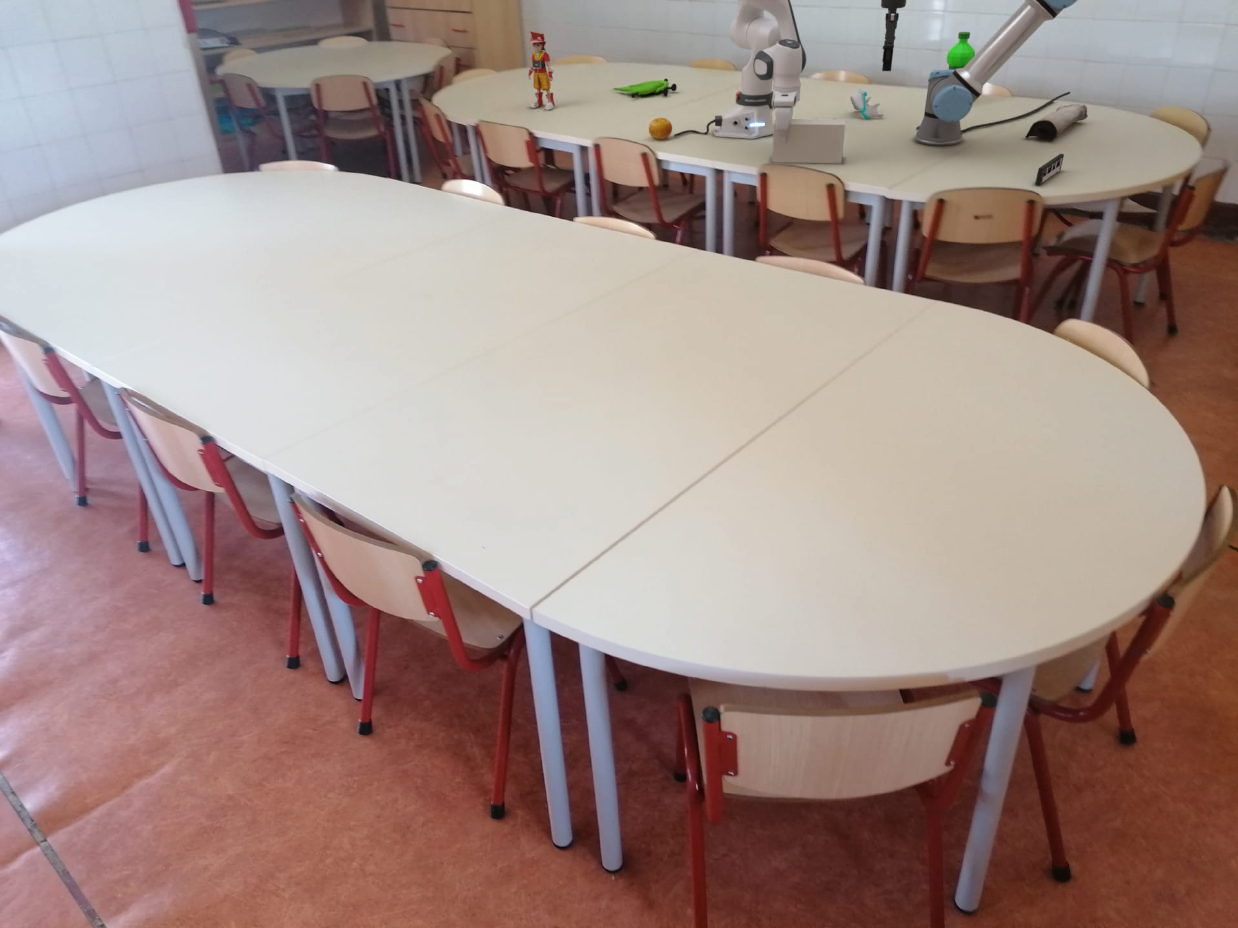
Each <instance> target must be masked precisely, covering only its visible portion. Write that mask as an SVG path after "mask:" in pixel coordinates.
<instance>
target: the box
mask: <svg viewBox="0 0 1238 928" xmlns="http://www.w3.org/2000/svg"><path fill="white" fill-rule="evenodd" d="M773 126H774V129H773V134H772V151H771V152H772V153H771V154H772V155H771V162H772V163H788V164H789V163H790V164H791V163H793V164H795V163H796V164H799V163H800V164H804V163H805V164H842V162H843V153H844V142H845V132H846V131H845V130H846V119H844V118H843V119H842V118H840V119H837V118H831V119H830V118H792V119H791V122H790V125H789V128H788V130H787V131H786V141H785V142H780V131H777V129H776V118H775V119H774V121H773Z"/></svg>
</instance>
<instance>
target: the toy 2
mask: <svg viewBox="0 0 1238 928" xmlns="http://www.w3.org/2000/svg"><path fill="white" fill-rule="evenodd" d="M669 85H670V83H669V79H668V78H664V79H663V80H649V81H644V82H640V83H634V84H629V85H627V86H621V87H613V88H612V89H613V90H616V91H619V92H623V93H627V94H628V93H629V94H631V95H630V96H631V98H632V99H634V98H636V96H637V95H650V94H652V93H654V94H658V93H662V95H663V96H665V97H667V96H668V95H669V90H671V91H672V92H676V91H677V84H676V83H672V84H671V86H669Z"/></svg>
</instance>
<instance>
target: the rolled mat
mask: <svg viewBox="0 0 1238 928" xmlns="http://www.w3.org/2000/svg"><path fill="white" fill-rule="evenodd" d="M1088 116H1089V115H1088V108H1087V105H1085V104H1079V103H1075V104H1068V105H1062V106H1059V107H1057V108H1056V109H1055V111H1053V112H1052V113H1049V114H1048V115H1046V116H1044V117H1042V118H1040V119H1039V120H1037V121H1035V122H1033V124H1032V125H1031V126H1030V128H1029V130H1028V131H1027V133H1026V135H1025V137H1024V138H1025V139H1026V140H1027V139H1029V138H1030V137H1035V138H1037V139H1039V140H1040V141H1045V142H1053V141H1054V140H1055V139H1057V138H1058V137H1059V136H1060V135H1061V134H1062V133H1063V131H1064V130H1065V129H1067V128H1068V127H1069V126H1071V125H1072V124H1074V123H1076V122H1079V121H1080V122H1081V121H1085V120H1086V119H1087V118H1088Z"/></svg>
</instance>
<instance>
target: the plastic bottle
mask: <svg viewBox="0 0 1238 928" xmlns="http://www.w3.org/2000/svg"><path fill="white" fill-rule="evenodd" d="M970 36H971V32H970V31H959V32H958V36H957V39H958V42H957V43H956V44H954V45H953V46H952V47H951V48H950V49H949V50H948V52H947V54H946V63H947V64H948V70H956V69H959V68H964V67H965V66H966V65H967V64H968V62H969V61H970V60H971V59H972V58H973V57H974V56H975V55H976V51H975V49H974V47H972V45H971V44H970V43H969V42H968V41H969V39H970V38H971V37H970Z"/></svg>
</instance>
